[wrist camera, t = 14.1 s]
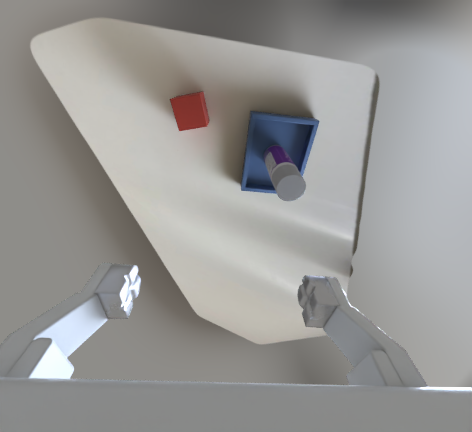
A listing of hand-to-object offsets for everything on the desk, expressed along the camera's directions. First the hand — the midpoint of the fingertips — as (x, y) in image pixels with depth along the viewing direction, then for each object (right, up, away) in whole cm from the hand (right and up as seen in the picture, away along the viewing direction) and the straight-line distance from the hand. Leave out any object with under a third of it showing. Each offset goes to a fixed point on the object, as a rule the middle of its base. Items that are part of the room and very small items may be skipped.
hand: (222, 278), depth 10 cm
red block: (-7, +23, +29) cm, 38 cm away
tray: (+9, +16, +34) cm, 39 cm away
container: (+9, +16, +34) cm, 38 cm away
